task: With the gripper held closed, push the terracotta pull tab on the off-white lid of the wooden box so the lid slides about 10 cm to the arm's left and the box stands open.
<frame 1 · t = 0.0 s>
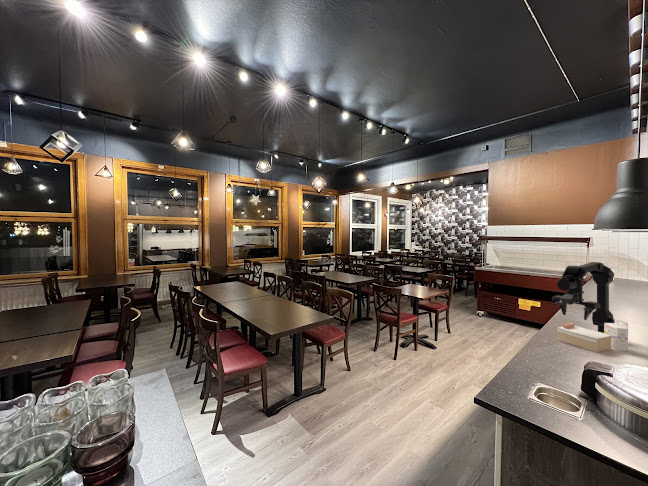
hand: (574, 317, 144), 15 cm above the counter, tool pointing down, fingers open, 9 cm apart
lid: (583, 331, 145), point 7 cm above the counter, slide at 0.0 cm
wooden box: (583, 344, 145), on the counter
ink cartridge box: (615, 347, 141), on the counter
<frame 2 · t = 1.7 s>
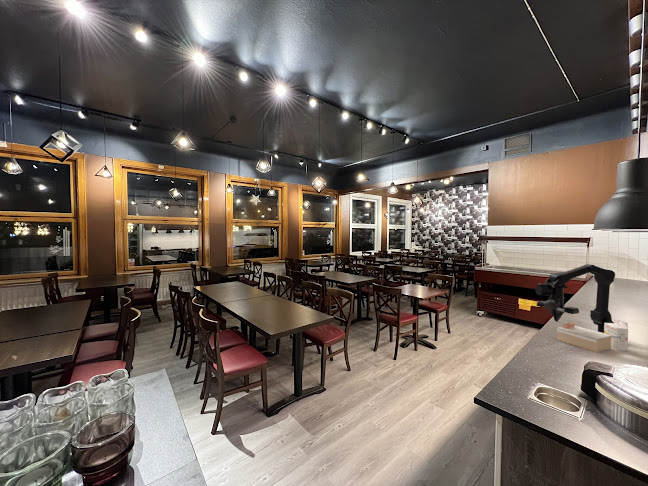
hand: (556, 321, 157), 8 cm above the counter, tool pointing down, fingers closed
nothing on the counter moved.
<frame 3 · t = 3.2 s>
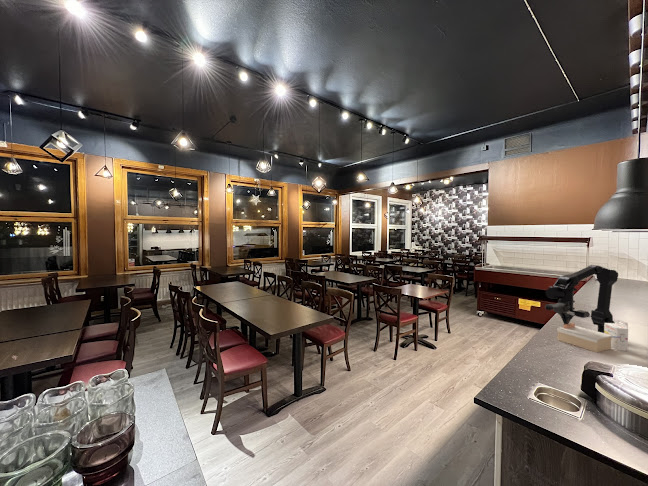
hand: (565, 325, 152), 8 cm above the counter, tool pointing down, fingers closed
lid: (583, 331, 145), point 7 cm above the counter, slide at 0.2 cm, touching gripper
everything else where it was.
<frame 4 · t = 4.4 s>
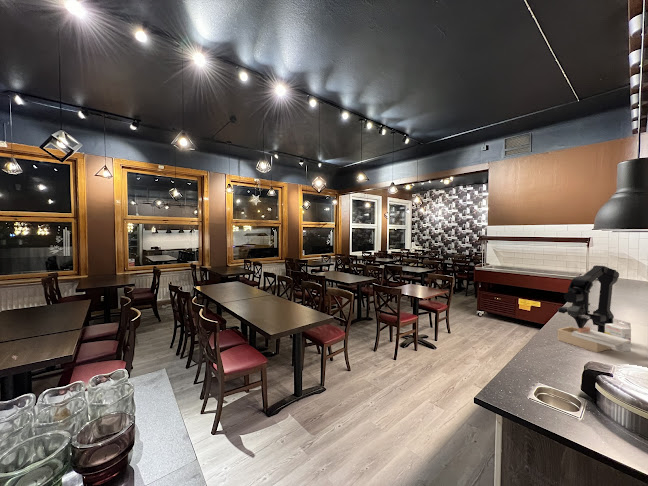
hand: (580, 329, 146), 8 cm above the counter, tool pointing down, fingers closed
lid: (600, 335, 138), point 7 cm above the counter, slide at 6.9 cm, touching gripper
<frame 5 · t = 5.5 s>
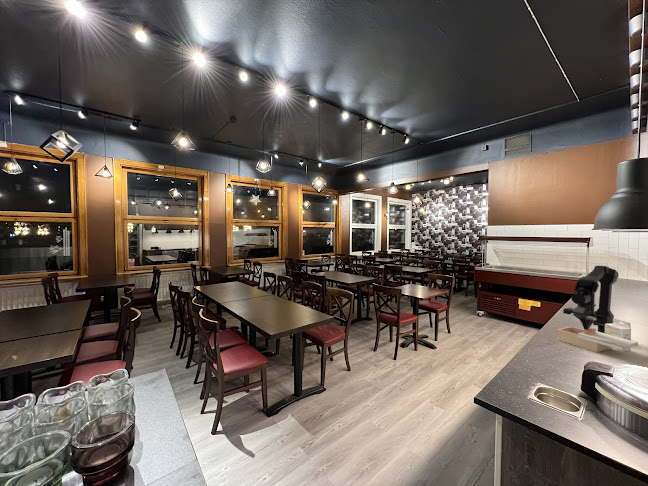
hand: (586, 330, 144), 8 cm above the counter, tool pointing down, fingers closed
lid: (606, 337, 136), point 7 cm above the counter, slide at 9.4 cm, touching gripper
everything else where it was.
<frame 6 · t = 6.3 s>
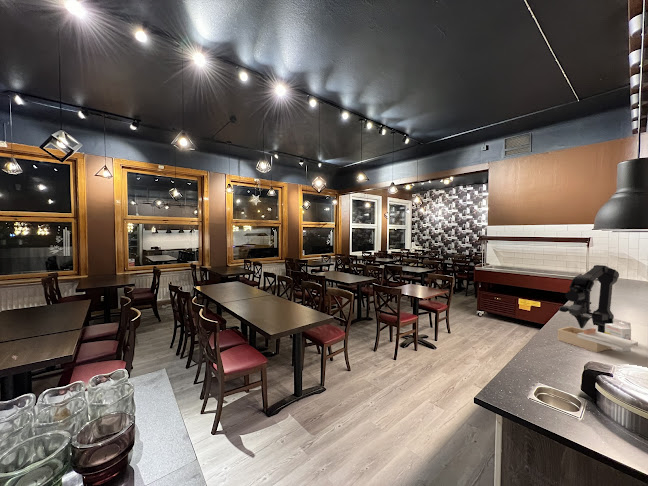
hand: (581, 328, 145), 9 cm above the counter, tool pointing down, fingers closed
lid: (606, 337, 136), point 7 cm above the counter, slide at 9.4 cm
everything else where it was.
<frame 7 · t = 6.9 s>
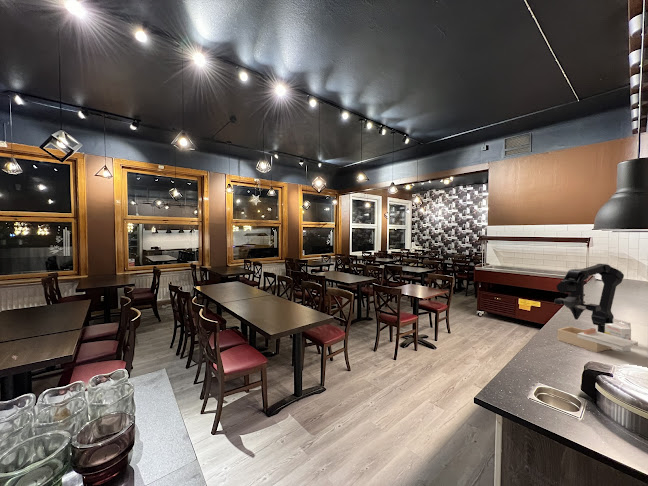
hand: (576, 319, 150), 12 cm above the counter, tool pointing down, fingers closed
nothing on the counter moved.
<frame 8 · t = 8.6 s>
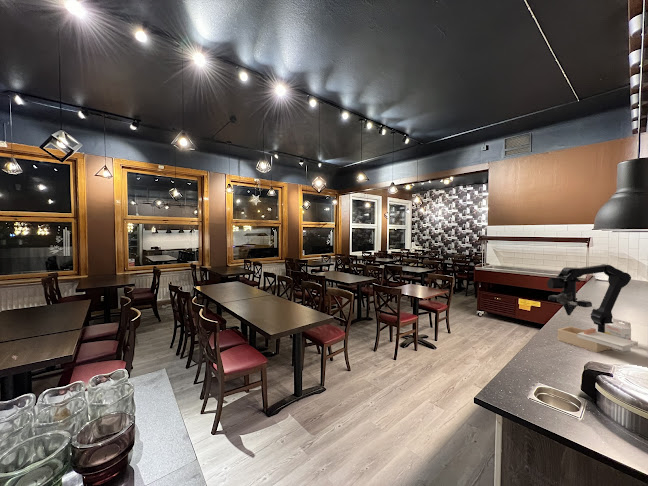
hand: (568, 315, 157), 12 cm above the counter, tool pointing down, fingers closed
nothing on the counter moved.
at the end: lid slide at 9.4 cm; ink cartridge box moved 0.8 cm from its start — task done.
